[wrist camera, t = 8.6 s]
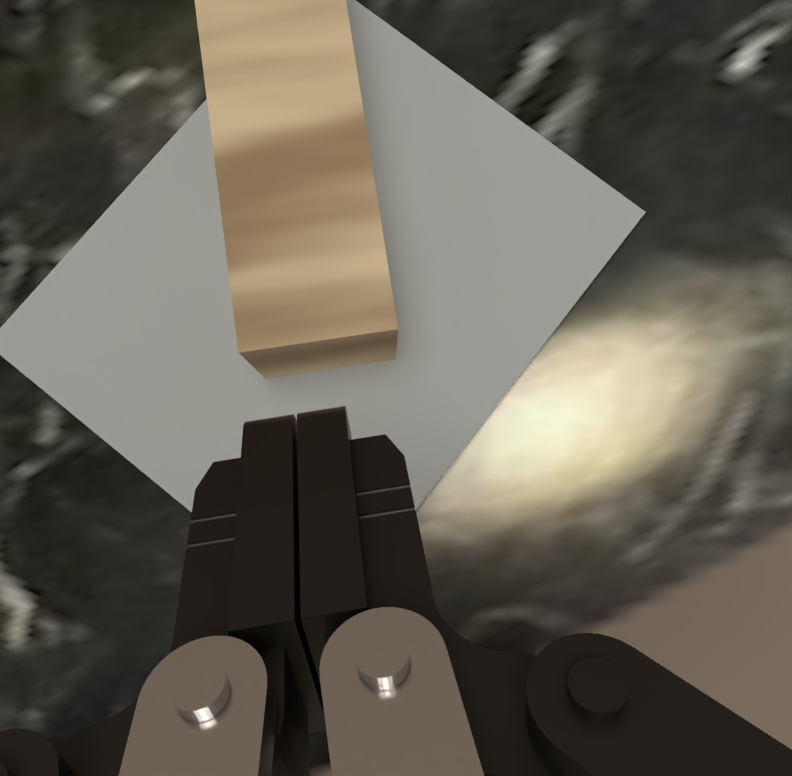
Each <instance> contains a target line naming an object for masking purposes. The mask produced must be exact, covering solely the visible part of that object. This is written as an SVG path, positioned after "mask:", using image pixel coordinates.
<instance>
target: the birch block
mask: <svg viewBox="0 0 792 776" xmlns="http://www.w3.org/2000/svg"><path fill="white" fill-rule="evenodd" d="M195 7H196V15H197V24H198V32H199V40H200V48H201V56H202V64H203V72H204V80H205V88H206V96H207V104H208V112H209V120H210V128H211V136H212V144H213V152H214V160H215V168H216V176H217V184H218V192H219V200H220V208H221V217H222V225H223V233H224V241H225V249H226V257H227V265H228V273H229V281H230V289H231V297H232V305H233V313H234V321H235V329H236V337H237V345H238V353H239V354H240V355H241V356H242V357H243V358H245V359H246V360H247V361H248V362H249V363H250V364H251V365H252V366H253V367H254V368H255V369H256V370H257V371H258V372H259V373H260V374H261V375H262V376H263V377H264V378H265V379H267V378H273V377H280V376H287V375H294V374H300V373H307V372H314V371H320V370H327V369H334V368H340V367H347V366H354V365H361V364H367V363H374V362H381V361H387V360H394V359H396V350H397V337H398V325H397V319H396V312H395V306H394V300H393V293H392V287H391V281H390V274H389V268H388V262H387V256H386V249H385V243H384V237H383V230H382V224H381V218H380V211H379V205H378V199H377V193H376V186H375V180H374V174H373V167H372V161H371V155H370V148H369V142H368V136H367V130H366V123H365V117H364V111H363V104H362V98H361V92H360V85H359V79H358V73H357V67H356V60H355V54H354V48H353V41H352V35H351V29H350V22H349V16H348V10H347V4H346V0H195Z"/></svg>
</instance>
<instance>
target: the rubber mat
mask: <svg viewBox="0 0 792 776" xmlns="http://www.w3.org/2000/svg"><path fill="white" fill-rule="evenodd" d="M346 4H347V10H348V16H349V22H350V29H351V35H352V41H353V48H354V54H355V60H356V67H357V73H358V79H359V85H360V92H361V98H362V104H363V111H364V117H365V123H366V130H367V136H368V142H369V148H370V155H371V161H372V167H373V174H374V180H375V186H376V193H377V199H378V205H379V211H380V218H381V224H382V230H383V237H384V243H385V249H386V256H387V262H388V268H389V274H390V281H391V287H392V293H393V300H394V306H395V312H396V319H397V325H398V337H397V350H396V359H394V360H387V361H381V362H374V363H367V364H361V365H354V366H347V367H340V368H334V369H327V370H320V371H314V372H307V373H300V374H294V375H287V376H280V377H273V378H267V379H265V378H264V377H263V376H262V375H261V374H260V373H259V372H258V371H257V370H256V369H255V368H254V367H253V366H252V365H251V364H250V363H249V362H248V361H247V360H246V359H245V358H243V357H242V356H241V355H240V354H239V353H238V345H237V337H236V329H235V321H234V313H233V305H232V297H231V289H230V281H229V273H228V265H227V257H226V249H225V241H224V233H223V225H222V217H221V208H220V200H219V192H218V184H217V176H216V168H215V160H214V152H213V144H212V136H211V128H210V120H209V112H208V104H207V99H206V100H205V101H204V103H203V104H202V105H201V106H200V107H199V108H198V109H197V110H196V111H195V113H194V114H193V115H192V116H191V117H190V118H189V119H188V120H187V121H186V123H185V124H184V125H183V126H182V127H181V128H180V129H179V130H178V131H177V132H176V134H175V135H174V136H173V137H172V138H171V139H170V140H169V141H168V142H167V144H166V145H165V146H164V147H163V148H162V149H161V150H160V151H159V152H158V154H157V155H156V156H155V157H154V158H153V159H152V160H151V161H150V162H149V164H148V165H147V166H146V167H145V168H144V169H143V170H142V171H141V172H140V174H139V175H138V176H137V177H136V178H135V179H134V180H133V181H132V182H131V184H130V185H129V186H128V187H127V188H126V189H125V190H124V191H123V192H122V194H121V195H120V196H119V197H118V198H117V199H116V200H115V201H114V202H113V204H112V205H111V206H110V207H109V208H108V209H107V210H106V211H105V212H104V214H103V215H102V216H101V217H100V218H99V219H98V220H97V221H96V222H95V224H94V225H93V226H92V227H91V228H90V229H89V230H88V231H87V232H86V234H85V235H84V236H83V237H82V238H81V239H80V240H79V241H78V242H77V243H76V245H75V246H74V247H73V248H72V249H71V250H70V251H69V252H68V253H67V255H66V256H65V257H64V258H63V259H62V260H61V261H60V262H59V263H58V265H57V266H56V267H55V268H54V269H53V270H52V271H51V272H50V273H49V275H48V276H47V277H46V278H45V279H44V280H43V281H42V282H41V283H40V285H39V286H38V287H37V288H36V289H35V290H34V291H33V292H32V293H31V295H30V296H29V297H28V298H27V299H26V300H25V301H24V302H23V303H22V305H21V306H20V307H19V308H18V309H17V310H16V311H15V312H14V313H13V315H12V316H11V317H10V318H9V319H8V320H7V321H6V322H5V323H4V325H3V326H2V327H1V328H0V355H1V356H2V357H3V358H5V359H6V360H7V361H8V362H10V363H11V364H12V365H13V366H14V367H16V368H17V369H18V370H19V371H20V372H22V373H23V374H24V375H25V376H27V377H28V378H29V379H30V380H31V381H33V382H34V383H35V384H36V385H38V386H39V387H40V388H41V389H42V390H44V391H45V392H46V393H47V394H48V395H50V396H51V397H52V398H53V399H55V400H56V401H57V402H58V403H59V404H61V405H62V406H63V407H64V408H65V409H67V410H68V411H69V412H70V413H72V414H73V415H74V416H75V417H76V418H78V419H79V420H80V421H81V422H82V423H84V424H85V425H86V426H87V427H89V428H90V429H91V430H92V431H93V432H95V433H96V434H97V435H98V436H99V437H101V438H102V439H103V440H104V441H106V442H107V443H108V444H109V445H110V446H112V447H113V448H114V449H115V450H117V451H118V452H119V453H120V454H121V455H123V456H124V457H125V458H126V459H127V460H129V461H130V462H131V463H132V464H134V465H135V466H136V467H137V468H138V469H140V470H141V471H142V472H143V473H144V474H146V475H147V476H148V477H149V478H151V479H152V480H153V481H154V482H155V483H157V484H158V485H159V486H160V487H161V488H163V489H164V490H165V491H166V492H168V493H169V494H170V495H171V496H172V497H174V498H175V499H176V500H177V501H178V502H180V503H181V504H182V505H183V506H185V507H186V508H187V509H188V510H189V511H191V512H192V508H193V501H194V494H195V489H196V487H197V486H198V484H199V483H200V481H201V480H202V478H203V477H204V475H205V474H206V472H207V471H208V469H209V468H210V466H211V465H212V463H213V462H216V461H222V460H229V459H235V458H241V447H242V434H243V425H244V423H245V422H247V421H254V420H260V419H266V418H273V417H279V416H285V415H292V414H294V415H295V417H296V420H297V414H298V413H303V412H310V411H316V410H322V409H329V408H335V407H341V406H346V410H347V415H348V420H349V426H350V431H351V437H352V440H353V439H359V438H365V437H371V436H378V435H384V434H386V435H387V437H388V438H389V439H390V440H391V441H392V442H393V443H394V444H395V446H396V447H397V448H398V449H399V450H400V451H401V452H402V453H403V455H404V456H405V461H406V466H407V471H408V476H409V481H410V487H411V491H412V496H413V500H414V505H415V511H416V509H417V508H418V507H419V506H420V504H421V503H422V502H423V500H424V499H425V498H426V496H427V495H428V494H429V493H430V491H431V490H432V489H433V487H434V486H435V485H436V483H437V482H438V481H439V480H440V478H441V477H442V476H443V474H444V473H445V472H446V470H447V469H448V468H449V467H450V465H451V464H452V463H453V461H454V460H455V459H456V458H457V456H458V455H459V454H460V452H461V451H462V450H463V448H464V447H465V446H466V445H467V443H468V442H469V441H470V439H471V438H472V437H473V435H474V434H475V433H476V432H477V430H478V429H479V428H480V426H481V425H482V424H483V422H484V421H485V420H486V419H487V417H488V416H489V415H490V413H491V412H492V411H493V410H494V408H495V407H496V406H497V404H498V403H499V402H500V400H501V399H502V398H503V397H504V395H505V394H506V393H507V391H508V390H509V389H510V387H511V386H512V385H513V384H514V382H515V381H516V380H517V378H518V377H519V376H520V375H521V373H522V372H523V371H524V369H525V368H526V367H527V365H528V364H529V363H530V362H531V360H532V359H533V358H534V356H535V355H536V354H537V352H538V351H539V350H540V349H541V347H542V346H543V345H544V343H545V342H546V341H547V339H548V338H549V337H550V336H551V334H552V333H553V332H554V330H555V329H556V328H557V327H558V325H559V324H560V323H561V321H562V320H563V319H564V317H565V316H566V315H567V314H568V312H569V311H570V310H571V308H572V307H573V306H574V304H575V303H576V302H577V301H578V299H579V298H580V297H581V295H582V294H583V293H584V291H585V290H586V289H587V288H588V286H589V285H590V284H591V282H592V281H593V280H594V279H595V277H596V276H597V275H598V273H599V272H600V271H601V269H602V268H603V267H604V266H605V264H606V263H607V262H608V260H609V259H610V258H611V256H612V255H613V254H614V253H615V251H616V250H617V249H618V247H619V246H620V245H621V244H622V242H623V241H624V240H625V238H626V237H627V236H628V234H629V233H630V232H631V231H632V229H633V228H634V227H635V225H636V224H637V223H638V221H639V220H640V219H641V218H642V216H643V215H644V214H645V211H643V210H642V209H641V208H639V207H638V206H637V205H635V204H634V203H633V202H631V201H630V200H628V199H627V198H626V197H624V196H623V195H622V194H620V193H619V192H617V191H616V190H615V189H613V188H612V187H611V186H609V185H608V184H606V183H605V182H604V181H602V180H601V179H600V178H598V177H597V176H596V175H594V174H593V173H591V172H590V171H589V170H587V169H586V168H585V167H583V166H582V165H580V164H579V163H578V162H576V161H575V160H574V159H572V158H571V157H569V156H568V155H567V154H565V153H564V152H563V151H561V150H560V149H559V148H557V147H556V146H554V145H553V144H552V143H550V142H549V141H548V140H546V139H545V138H543V137H542V136H541V135H539V134H538V133H537V132H535V131H534V130H532V129H531V128H530V127H528V126H527V125H526V124H524V123H523V122H522V121H520V120H519V119H517V118H516V117H515V116H513V115H512V114H511V113H509V112H508V111H506V110H505V109H504V108H502V107H501V106H500V105H498V104H497V103H495V102H494V101H493V100H491V99H490V98H489V97H487V96H486V95H485V94H483V93H482V92H480V91H479V90H478V89H476V88H475V87H474V86H472V85H471V84H469V83H468V82H467V81H465V80H464V79H463V78H461V77H460V76H458V75H457V74H456V73H454V72H453V71H452V70H450V69H449V68H448V67H446V66H445V65H443V64H442V63H441V62H439V61H438V60H437V59H435V58H434V57H432V56H431V55H430V54H428V53H427V52H426V51H424V50H423V49H421V48H420V47H419V46H417V45H416V44H415V43H413V42H412V41H410V40H409V39H408V38H406V37H405V36H404V35H402V34H401V33H400V32H398V31H397V30H395V29H394V28H393V27H391V26H390V25H389V24H387V23H386V22H384V21H383V20H382V19H380V18H379V17H378V16H376V15H375V14H373V13H372V12H371V11H369V10H368V9H367V8H365V7H364V6H363V5H361V4H360V3H358V2H357V1H356V0H346Z"/></svg>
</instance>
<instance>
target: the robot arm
mask: <svg viewBox="0 0 792 776" xmlns="http://www.w3.org/2000/svg"><path fill="white" fill-rule="evenodd" d="M191 522H192V524H191V525H190V528H189V535H188V542H187V544H188V549H187V550H186V555H185V562H184V569H183V576H182V583H181V589H180V596H179V603H178V610H177V617H176V624H175V630H174V637H173V643H172V648H171V652H170V654H169V655H168V656H167V657H165V658H164V659H163V660H162V661H161V662H160V663H159V664H158V665H157V666H156V667H155V668H154V670H153V671H152V672H151V674H150V675H149V677H148V678H147V680H146V682H145V683H144V685H143V687H142V689H141V692H140V695H139V698H138V699H137V700H136V701H135V702H134V703H133V704H131V705H130V706H128V707H127V708H125V709H124V710H123V711H121V712H119V713H118V714H116V715H114V716H112V717H110V718H108V719H106V720H104V721H102V722H100V723H98V724H96V725H94V726H92V727H90V728H88V729H86V730H84V731H82V732H80V733H78V734H76V735H74V736H71V737H69V738H67V739H65V740H63V741H61V742H59V743H57V744H55V745H52V744H51V743H50V742H49V741H48V740H47V739H46V738H45V737H44V736H43V735H41V734H39V733H37V732H35V731H31V730H27V729H9V730H3V731H0V776H309V739H308V734H309V733H315V732H320V731H327V739H328V747H329V755H330V763H331V771H332V776H792V750H791V749H789V748H788V747H786V746H785V745H783V744H782V743H780V742H779V741H777V740H776V739H774V738H772V737H771V736H769V735H768V734H766V733H765V732H763V731H762V730H760V729H759V728H757V727H755V726H754V725H752V724H751V723H749V722H748V721H746V720H745V719H743V718H742V717H740V716H738V715H737V714H735V713H734V712H732V711H731V710H729V709H728V708H726V707H725V706H723V705H721V704H720V703H718V702H717V701H715V700H713V699H712V698H711V697H709V696H708V695H706V694H704V693H703V692H701V691H700V690H698V689H697V688H695V687H694V686H692V685H691V684H689V683H687V682H686V681H684V680H683V679H681V678H680V677H678V676H677V675H675V674H674V673H672V672H670V671H669V670H667V669H666V668H664V667H663V666H661V665H660V664H658V663H656V662H655V661H653V660H652V659H650V658H649V657H647V656H646V655H644V654H643V653H641V652H639V651H638V650H636V649H635V648H633V647H632V646H630V645H628V644H626V643H624V642H622V641H620V640H618V639H615V638H612V637H609V636H605V635H601V634H592V633H580V634H573V635H568V636H564V637H562V638H560V639H557V640H555V641H553V642H552V643H550V644H549V645H547V646H546V647H545V648H544V649H543V650H542V651H541V652H539V654H538V655H537V656H534V655H527V654H519V653H512V652H505V651H498V650H493V649H489V648H485V647H482V646H479V645H476V644H474V643H472V642H470V641H468V640H466V639H464V638H463V637H461V636H460V635H458V634H457V633H456V632H454V631H453V630H452V629H451V628H450V627H449V626H448V625H447V624H446V622H445V621H444V620H443V618H442V617H441V616H440V614H439V612H438V610H437V608H436V605H435V602H434V598H433V594H432V589H431V584H430V579H429V574H428V569H427V564H426V559H425V555H424V550H423V545H422V540H421V535H420V530H419V525H418V520H417V515H416V511H415V505H414V500H413V496H412V491H411V487H410V481H409V476H408V471H407V466H406V461H405V456H404V455H403V453H402V452H401V451H400V450H399V449H398V448H397V447H396V446H395V444H394V443H393V442H392V441H391V440H390V439H389V438H388V437H387V435H386V434H384V435H378V436H371V437H365V438H359V439H353V440H352V437H351V431H350V426H349V420H348V415H347V410H346V406H341V407H335V408H329V409H322V410H316V411H310V412H303V413H298V414H297V420H296V417H295V415H294V414H292V415H285V416H279V417H273V418H266V419H260V420H254V421H247V422H245V423H244V425H243V434H242V447H241V458H235V459H229V460H222V461H216V462H213V463H212V465H211V466H210V468H209V469H208V471H207V472H206V474H205V475H204V477H203V478H202V480H201V481H200V483H199V484H198V486H197V487H196V489H195V494H194V501H193V508H192V514H191Z"/></svg>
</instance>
